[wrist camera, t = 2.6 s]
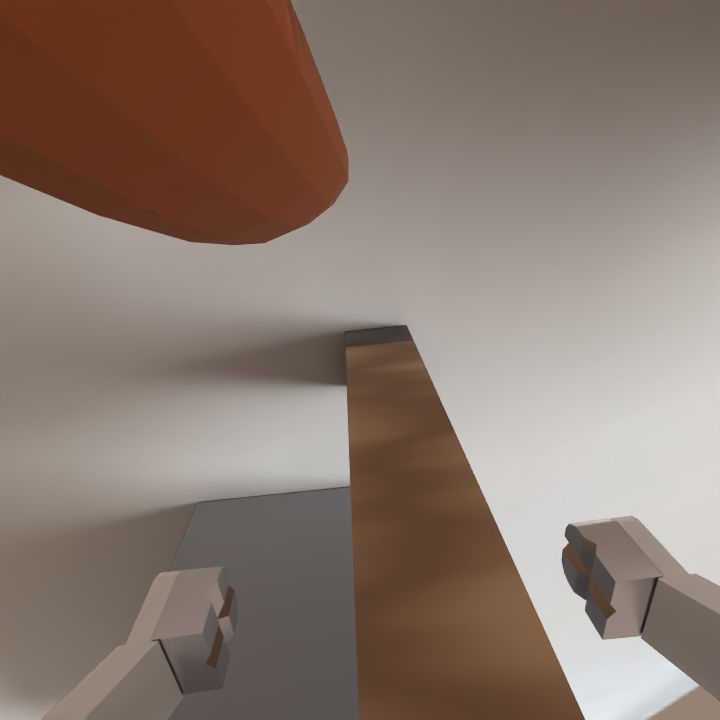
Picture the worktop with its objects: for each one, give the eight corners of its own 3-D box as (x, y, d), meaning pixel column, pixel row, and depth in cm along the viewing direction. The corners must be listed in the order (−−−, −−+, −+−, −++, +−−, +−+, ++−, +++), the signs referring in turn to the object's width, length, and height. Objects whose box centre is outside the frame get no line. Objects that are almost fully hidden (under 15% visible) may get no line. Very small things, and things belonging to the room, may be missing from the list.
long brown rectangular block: (406, 325, 20) (593, 737, 5) (409, 380, 21) (566, 839, 6) (344, 331, 20) (360, 764, 5) (351, 386, 21) (377, 859, 6)
